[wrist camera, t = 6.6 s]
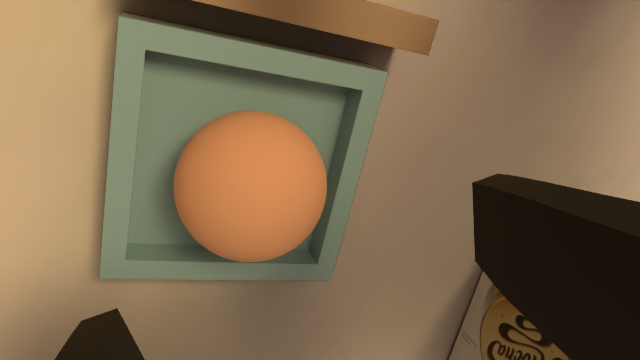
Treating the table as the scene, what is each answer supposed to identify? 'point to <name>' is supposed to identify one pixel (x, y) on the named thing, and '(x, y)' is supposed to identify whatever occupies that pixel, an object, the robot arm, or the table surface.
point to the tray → (199, 109)
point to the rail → (346, 20)
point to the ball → (250, 186)
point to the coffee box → (500, 331)
